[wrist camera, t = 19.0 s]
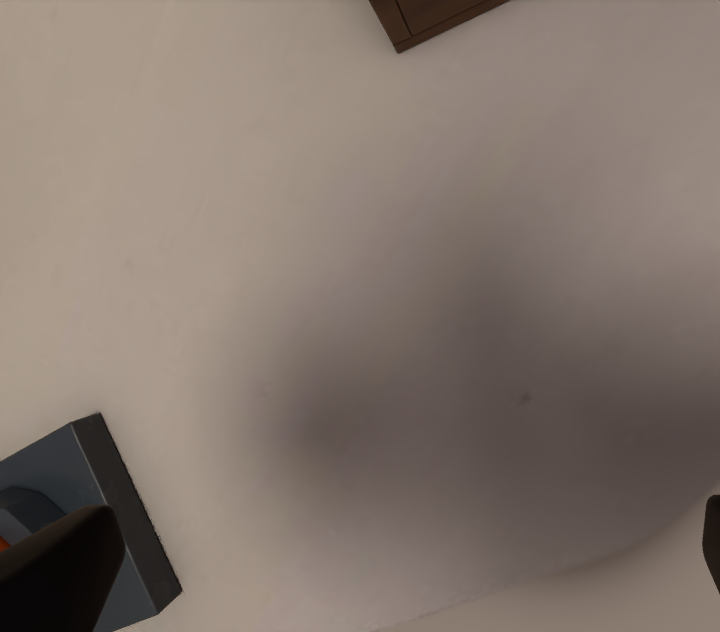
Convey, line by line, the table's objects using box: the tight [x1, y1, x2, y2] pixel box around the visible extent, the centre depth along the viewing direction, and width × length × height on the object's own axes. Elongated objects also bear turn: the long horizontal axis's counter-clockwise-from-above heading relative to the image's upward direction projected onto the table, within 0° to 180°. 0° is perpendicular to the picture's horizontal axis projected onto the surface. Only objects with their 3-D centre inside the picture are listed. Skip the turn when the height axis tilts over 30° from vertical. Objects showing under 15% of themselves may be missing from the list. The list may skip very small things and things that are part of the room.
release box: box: [0, 413, 181, 632], centre depth 24 cm, size 11×9×4 cm
